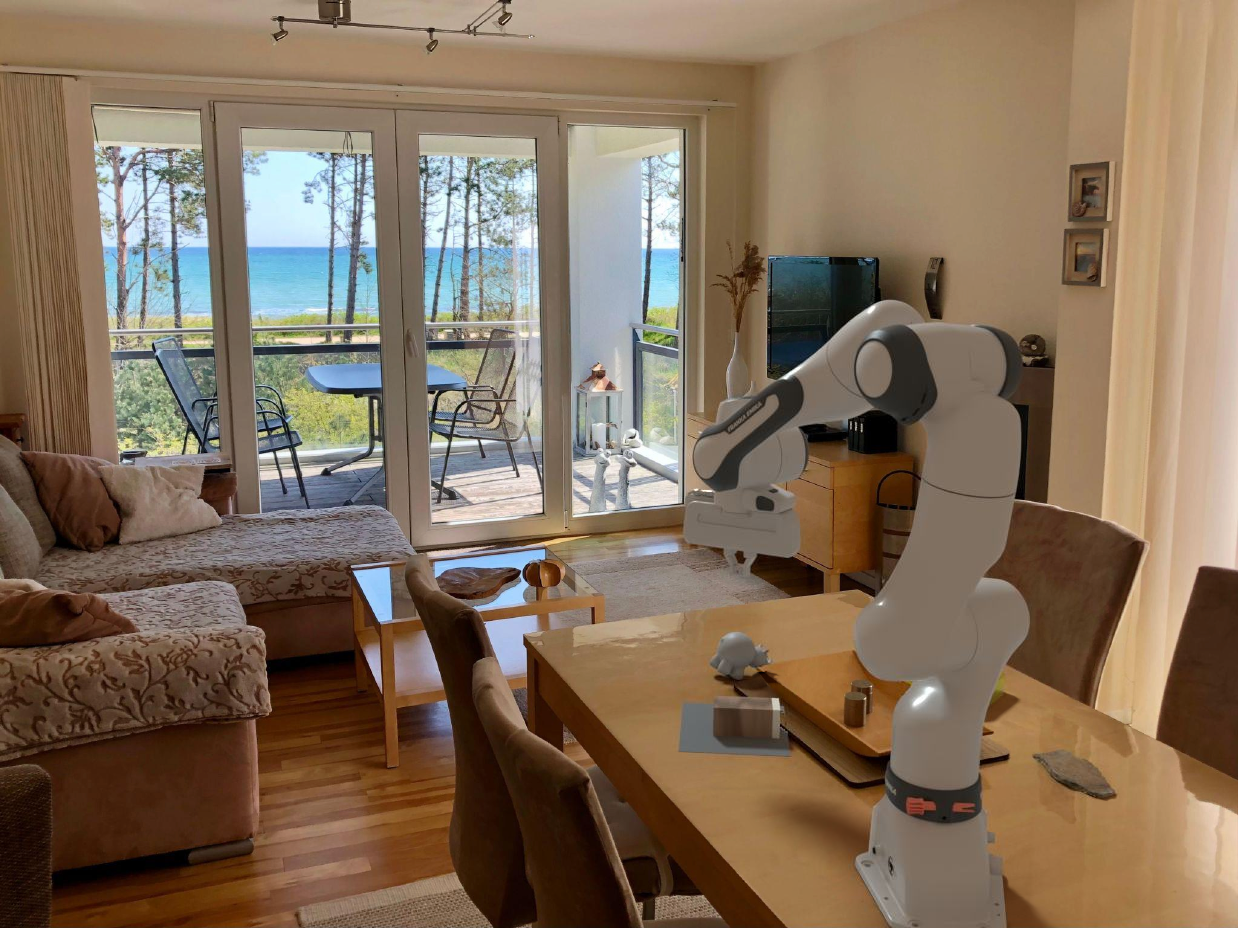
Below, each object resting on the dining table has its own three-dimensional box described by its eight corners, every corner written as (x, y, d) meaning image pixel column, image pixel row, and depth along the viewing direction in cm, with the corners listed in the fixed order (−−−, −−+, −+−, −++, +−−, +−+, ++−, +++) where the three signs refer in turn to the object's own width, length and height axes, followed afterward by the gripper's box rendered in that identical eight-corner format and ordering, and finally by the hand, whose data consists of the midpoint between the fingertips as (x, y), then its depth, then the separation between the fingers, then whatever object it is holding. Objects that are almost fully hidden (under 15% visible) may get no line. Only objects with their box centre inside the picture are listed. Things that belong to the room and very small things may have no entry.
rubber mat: (790, 759, 177) (790, 756, 177) (678, 754, 178) (678, 751, 178) (783, 708, 196) (783, 706, 196) (682, 704, 198) (682, 702, 198)
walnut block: (713, 735, 184) (779, 738, 183) (713, 707, 183) (780, 710, 182) (713, 723, 189) (777, 725, 188) (713, 695, 188) (778, 698, 187)
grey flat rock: (1070, 754, 180) (1070, 744, 180) (1125, 800, 165) (1126, 789, 165) (1024, 756, 179) (1025, 746, 179) (1076, 803, 164) (1077, 792, 163)
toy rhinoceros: (770, 692, 210) (787, 651, 210) (717, 676, 206) (734, 634, 206) (755, 678, 217) (772, 638, 216) (703, 662, 213) (720, 622, 212)
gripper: (676, 490, 183) (676, 571, 185) (789, 504, 172) (787, 589, 174) (694, 484, 188) (694, 562, 191) (805, 497, 177) (803, 580, 180)
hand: (739, 575), depth 182 cm, fingers closed
